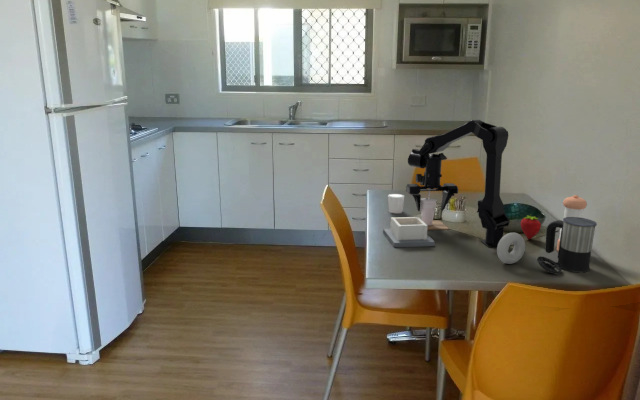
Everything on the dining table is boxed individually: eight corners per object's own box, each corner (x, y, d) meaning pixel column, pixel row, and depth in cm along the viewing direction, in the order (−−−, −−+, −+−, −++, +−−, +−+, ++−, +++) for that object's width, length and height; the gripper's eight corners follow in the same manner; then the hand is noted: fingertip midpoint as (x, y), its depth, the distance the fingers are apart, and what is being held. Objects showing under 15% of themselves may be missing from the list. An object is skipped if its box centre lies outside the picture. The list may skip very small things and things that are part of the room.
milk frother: (591, 265, 163) (598, 219, 159) (586, 282, 150) (593, 232, 146) (542, 257, 170) (547, 212, 166) (533, 272, 157) (538, 224, 153)
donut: (518, 259, 167) (521, 229, 165) (526, 263, 164) (529, 232, 162) (492, 263, 163) (495, 232, 161) (500, 267, 160) (503, 236, 158)
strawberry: (530, 243, 183) (533, 215, 180) (514, 237, 189) (517, 210, 187) (543, 241, 185) (546, 214, 182) (527, 235, 192) (530, 208, 189)
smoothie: (421, 226, 198) (423, 189, 196) (416, 222, 204) (418, 186, 202) (438, 226, 199) (440, 189, 196) (432, 222, 205) (434, 186, 203)
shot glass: (385, 212, 219) (386, 196, 217) (388, 208, 225) (389, 192, 224) (402, 214, 217) (403, 197, 215) (404, 210, 223) (405, 194, 222)
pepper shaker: (566, 255, 171) (574, 198, 166) (551, 248, 178) (558, 193, 173) (585, 253, 173) (593, 197, 168) (569, 246, 180) (577, 192, 175)
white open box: (434, 245, 179) (435, 227, 177) (394, 247, 177) (395, 228, 176) (420, 231, 194) (421, 214, 193) (382, 232, 193) (383, 215, 191)
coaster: (448, 229, 197) (448, 228, 197) (420, 230, 196) (420, 229, 196) (439, 221, 208) (439, 220, 208) (411, 221, 207) (411, 220, 206)
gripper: (449, 166, 206) (446, 204, 210) (402, 166, 204) (400, 205, 207) (460, 171, 195) (457, 212, 199) (411, 172, 193) (408, 213, 197)
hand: (430, 210), depth 201 cm, fingers open, 9 cm apart
